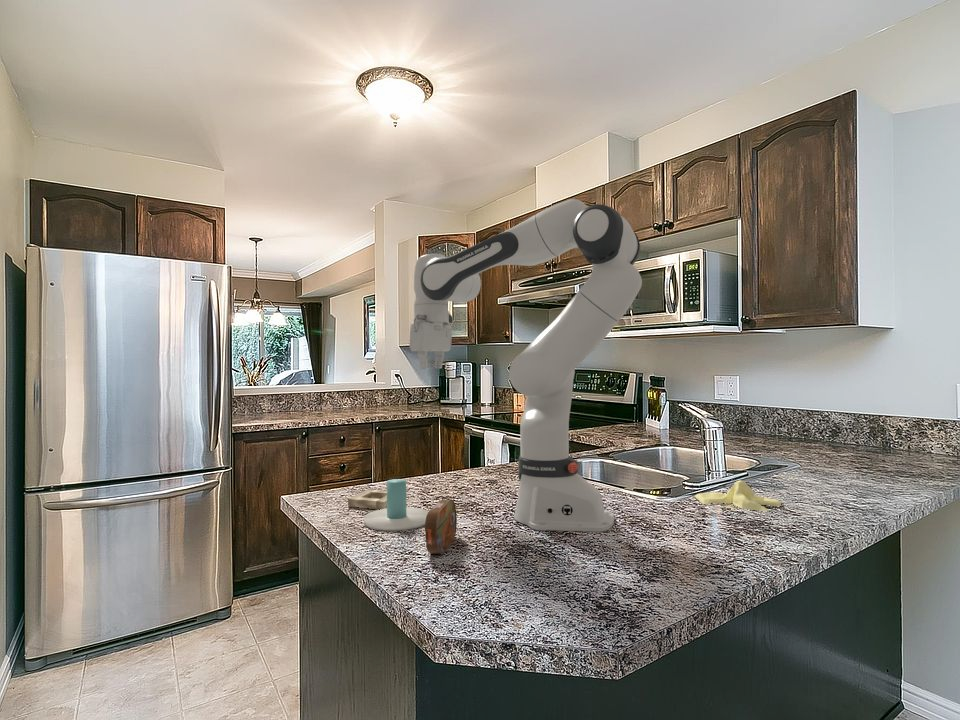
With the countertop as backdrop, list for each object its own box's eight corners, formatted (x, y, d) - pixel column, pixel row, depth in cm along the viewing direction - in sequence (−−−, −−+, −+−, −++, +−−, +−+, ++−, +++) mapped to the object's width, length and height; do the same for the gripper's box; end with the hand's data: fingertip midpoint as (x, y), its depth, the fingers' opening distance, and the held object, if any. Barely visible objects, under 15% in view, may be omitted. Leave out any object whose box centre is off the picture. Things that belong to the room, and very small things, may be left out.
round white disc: (440, 514, 131) (440, 509, 131) (413, 533, 117) (413, 528, 117) (383, 509, 136) (383, 505, 136) (351, 527, 121) (351, 522, 121)
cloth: (681, 500, 144) (681, 476, 143) (729, 491, 152) (729, 469, 152) (759, 523, 124) (759, 496, 124) (810, 511, 132) (810, 486, 132)
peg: (409, 514, 128) (409, 479, 128) (401, 519, 124) (401, 483, 123) (392, 512, 129) (392, 478, 129) (383, 518, 125) (383, 482, 125)
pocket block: (402, 499, 145) (402, 492, 145) (384, 509, 135) (384, 501, 135) (368, 497, 148) (367, 489, 148) (348, 506, 138) (348, 498, 138)
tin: (438, 561, 101) (438, 515, 101) (422, 559, 102) (422, 514, 102) (458, 534, 116) (458, 494, 116) (443, 534, 117) (443, 494, 117)
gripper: (426, 313, 135) (426, 369, 135) (455, 318, 155) (455, 367, 155) (402, 314, 137) (403, 369, 137) (434, 319, 156) (435, 368, 157)
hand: (431, 368), depth 146 cm, fingers open, 8 cm apart
